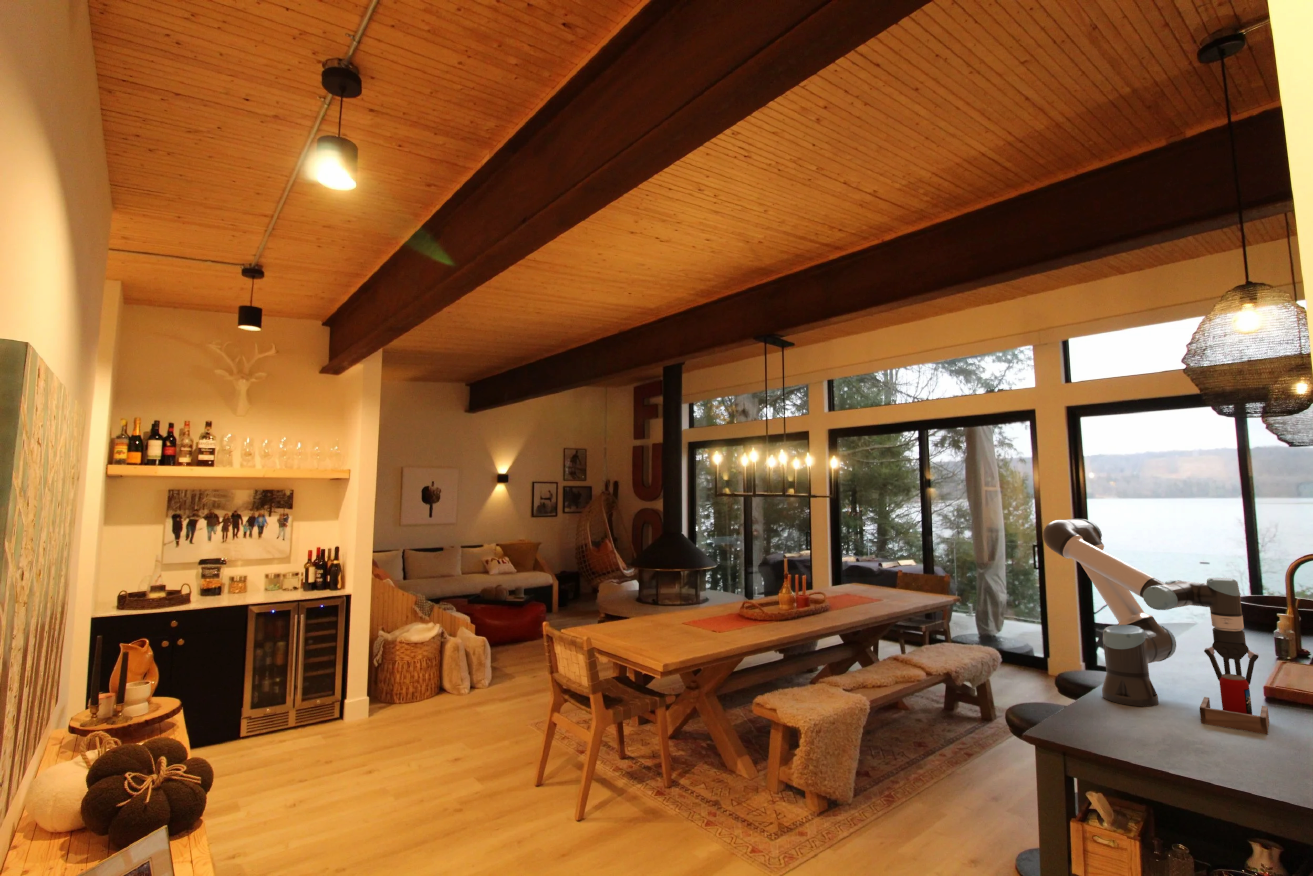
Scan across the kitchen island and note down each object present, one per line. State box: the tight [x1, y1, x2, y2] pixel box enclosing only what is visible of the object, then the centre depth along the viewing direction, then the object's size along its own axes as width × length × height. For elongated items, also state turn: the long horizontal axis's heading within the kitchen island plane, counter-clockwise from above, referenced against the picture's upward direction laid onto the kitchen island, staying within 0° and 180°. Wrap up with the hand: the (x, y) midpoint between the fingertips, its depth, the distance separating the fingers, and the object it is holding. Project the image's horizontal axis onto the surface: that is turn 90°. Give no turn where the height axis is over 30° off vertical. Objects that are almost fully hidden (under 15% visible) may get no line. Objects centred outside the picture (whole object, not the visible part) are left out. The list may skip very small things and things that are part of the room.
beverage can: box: [1218, 673, 1253, 715], centre depth 195 cm, size 7×7×12 cm
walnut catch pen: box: [1199, 696, 1270, 735], centre depth 190 cm, size 13×14×4 cm
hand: (1237, 706), depth 198 cm, fingers closed
